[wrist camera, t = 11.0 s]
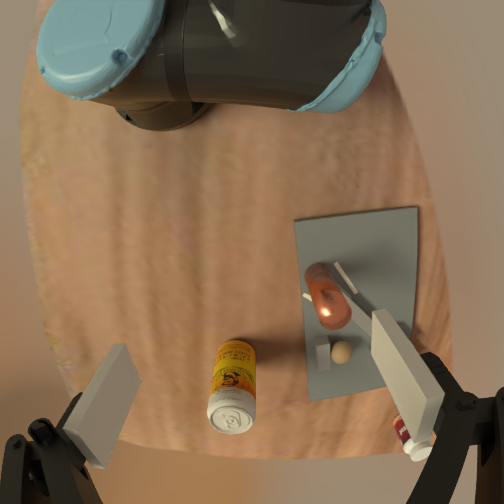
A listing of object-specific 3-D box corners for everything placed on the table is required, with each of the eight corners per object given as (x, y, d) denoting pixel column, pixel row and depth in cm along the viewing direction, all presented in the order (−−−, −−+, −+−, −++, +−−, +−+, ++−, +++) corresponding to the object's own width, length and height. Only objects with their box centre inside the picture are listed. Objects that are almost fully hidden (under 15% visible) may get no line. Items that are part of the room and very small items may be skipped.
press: (293, 220, 42) (298, 228, 38) (413, 206, 42) (429, 212, 37) (308, 397, 52) (312, 415, 47) (401, 378, 51) (410, 394, 47)
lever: (420, 351, 48) (449, 392, 37) (396, 372, 49) (420, 416, 38) (322, 252, 42) (344, 287, 31) (293, 281, 44) (305, 323, 33)
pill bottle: (414, 403, 54) (433, 440, 43) (421, 416, 55) (439, 451, 45) (388, 419, 55) (404, 457, 44) (397, 430, 56) (412, 466, 46)
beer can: (251, 334, 48) (250, 402, 34) (258, 364, 50) (259, 433, 35) (213, 340, 48) (199, 407, 34) (222, 369, 50) (213, 437, 36)
